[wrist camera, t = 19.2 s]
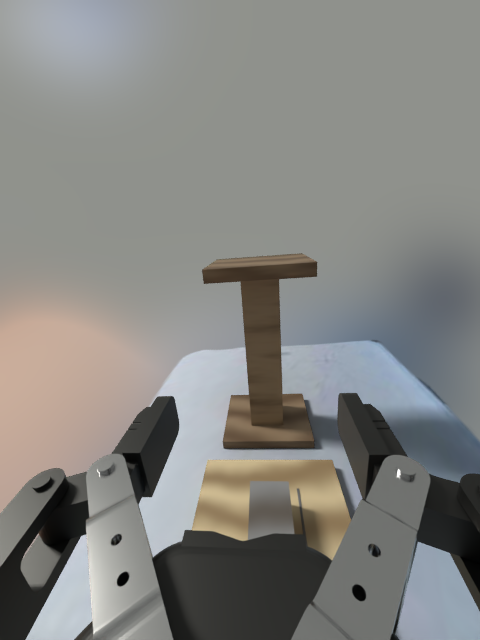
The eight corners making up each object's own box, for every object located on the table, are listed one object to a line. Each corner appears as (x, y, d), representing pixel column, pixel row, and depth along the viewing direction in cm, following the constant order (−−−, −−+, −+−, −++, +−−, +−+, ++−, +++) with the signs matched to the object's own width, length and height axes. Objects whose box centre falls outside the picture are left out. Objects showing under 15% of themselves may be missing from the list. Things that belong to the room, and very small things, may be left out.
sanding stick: (251, 503, 36) (250, 480, 35) (288, 503, 36) (288, 481, 34) (233, 1082, 12) (226, 1077, 10) (352, 1108, 11) (359, 1106, 10)
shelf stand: (231, 400, 61) (217, 259, 51) (302, 399, 59) (301, 253, 49) (223, 448, 48) (202, 269, 38) (314, 447, 46) (317, 262, 36)
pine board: (208, 467, 44) (207, 459, 44) (331, 467, 42) (332, 459, 42) (96, 981, 14) (89, 976, 13) (511, 1061, 12) (520, 1058, 12)
